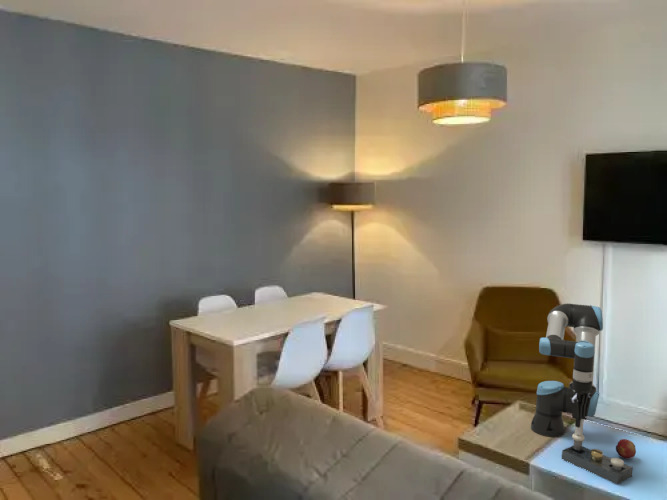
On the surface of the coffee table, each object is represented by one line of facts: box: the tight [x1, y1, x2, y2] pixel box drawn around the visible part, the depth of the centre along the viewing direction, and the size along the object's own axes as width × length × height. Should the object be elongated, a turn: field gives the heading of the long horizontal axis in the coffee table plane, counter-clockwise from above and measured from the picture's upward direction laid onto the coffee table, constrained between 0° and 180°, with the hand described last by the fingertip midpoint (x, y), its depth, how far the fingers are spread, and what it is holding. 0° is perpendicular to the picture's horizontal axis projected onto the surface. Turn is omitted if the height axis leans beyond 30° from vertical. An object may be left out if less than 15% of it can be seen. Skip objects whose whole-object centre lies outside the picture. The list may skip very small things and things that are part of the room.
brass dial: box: [590, 448, 604, 461], centre depth 226 cm, size 4×4×3 cm
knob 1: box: [572, 432, 585, 451], centre depth 233 cm, size 5×5×6 cm
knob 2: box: [610, 457, 625, 471], centre depth 219 cm, size 5×5×6 cm
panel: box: [561, 445, 634, 485], centre depth 226 cm, size 24×11×4 cm, turn 34°
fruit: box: [615, 438, 637, 460], centre depth 235 cm, size 8×8×8 cm
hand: (578, 433), depth 232 cm, fingers closed
